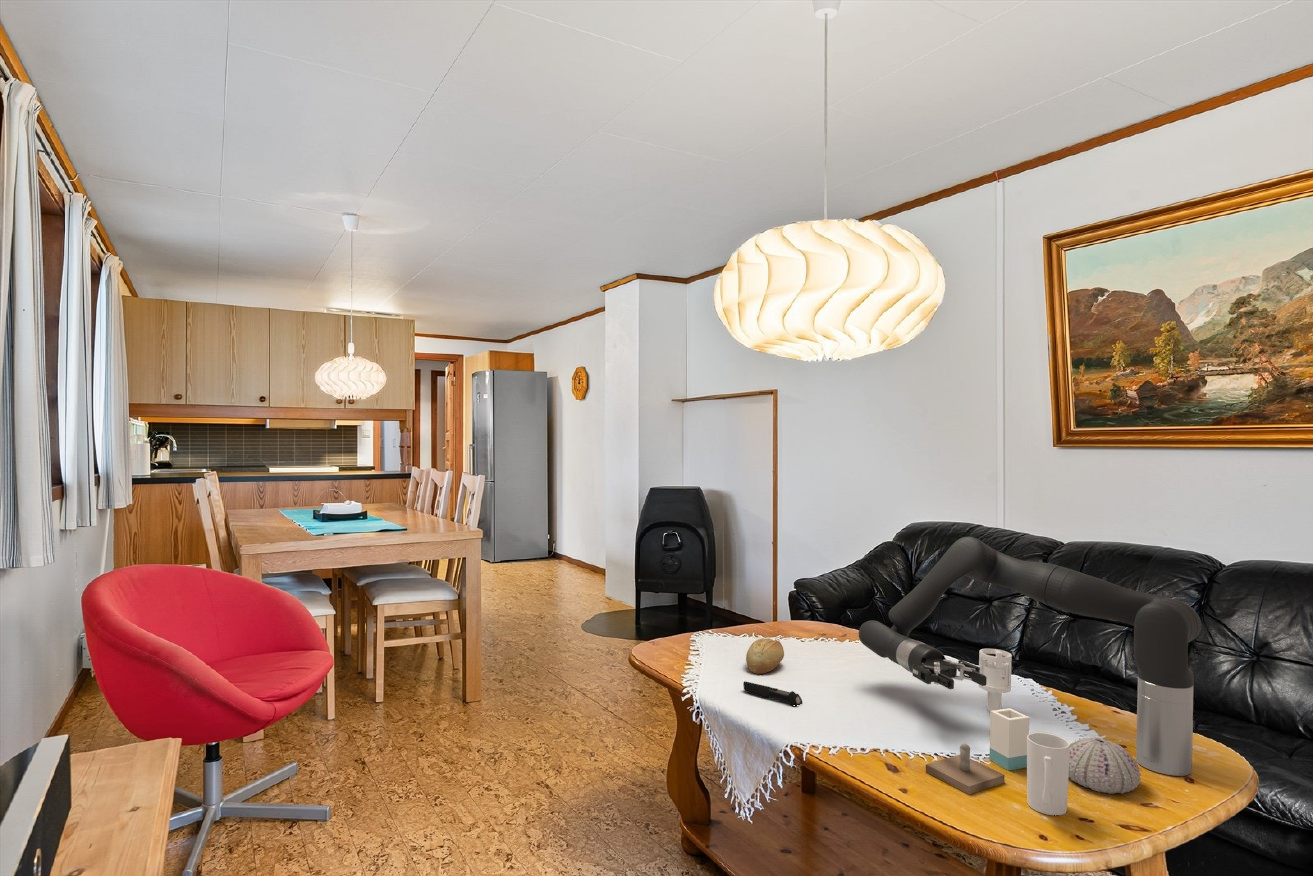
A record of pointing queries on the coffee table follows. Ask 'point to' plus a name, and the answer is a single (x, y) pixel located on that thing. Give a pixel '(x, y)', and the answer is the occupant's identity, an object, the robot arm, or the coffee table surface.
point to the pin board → (965, 772)
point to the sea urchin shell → (1102, 766)
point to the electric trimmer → (772, 693)
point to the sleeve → (1008, 738)
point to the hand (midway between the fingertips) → (969, 683)
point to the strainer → (995, 675)
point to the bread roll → (764, 655)
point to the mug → (1047, 773)
